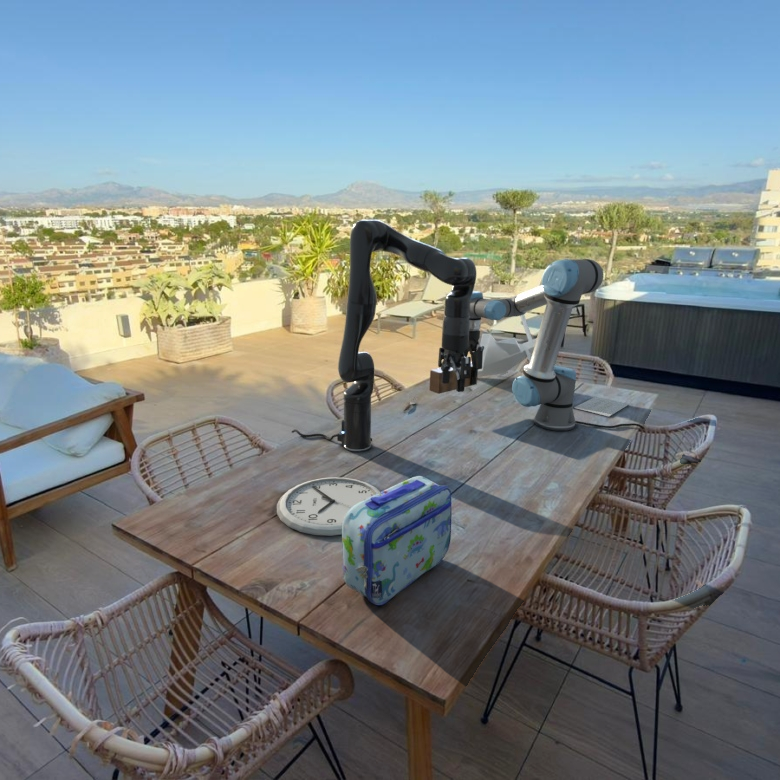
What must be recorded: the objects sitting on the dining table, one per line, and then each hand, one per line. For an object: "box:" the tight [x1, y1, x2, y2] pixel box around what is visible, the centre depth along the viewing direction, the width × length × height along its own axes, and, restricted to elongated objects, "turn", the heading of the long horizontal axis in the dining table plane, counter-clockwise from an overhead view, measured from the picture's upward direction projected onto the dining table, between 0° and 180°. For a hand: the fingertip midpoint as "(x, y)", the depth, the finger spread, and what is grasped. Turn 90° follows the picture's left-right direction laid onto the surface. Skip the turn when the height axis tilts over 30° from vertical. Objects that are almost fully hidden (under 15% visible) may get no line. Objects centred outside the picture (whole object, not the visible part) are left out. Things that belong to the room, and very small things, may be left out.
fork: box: [403, 396, 419, 412], centre depth 222 cm, size 3×16×2 cm, turn 160°
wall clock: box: [276, 476, 382, 537], centre depth 142 cm, size 30×2×30 cm
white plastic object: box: [471, 314, 537, 378], centre depth 258 cm, size 37×45×31 cm
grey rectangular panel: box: [573, 396, 629, 418], centre depth 226 cm, size 21×1×15 cm
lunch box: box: [341, 475, 453, 606], centre depth 111 cm, size 26×11×21 cm, turn 134°
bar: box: [429, 363, 478, 395], centre depth 218 cm, size 23×6×9 cm, turn 129°
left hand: (452, 387), depth 151 cm, fingers open, 8 cm apart
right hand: (467, 382), depth 225 cm, fingers closed on bar, 5 cm apart
